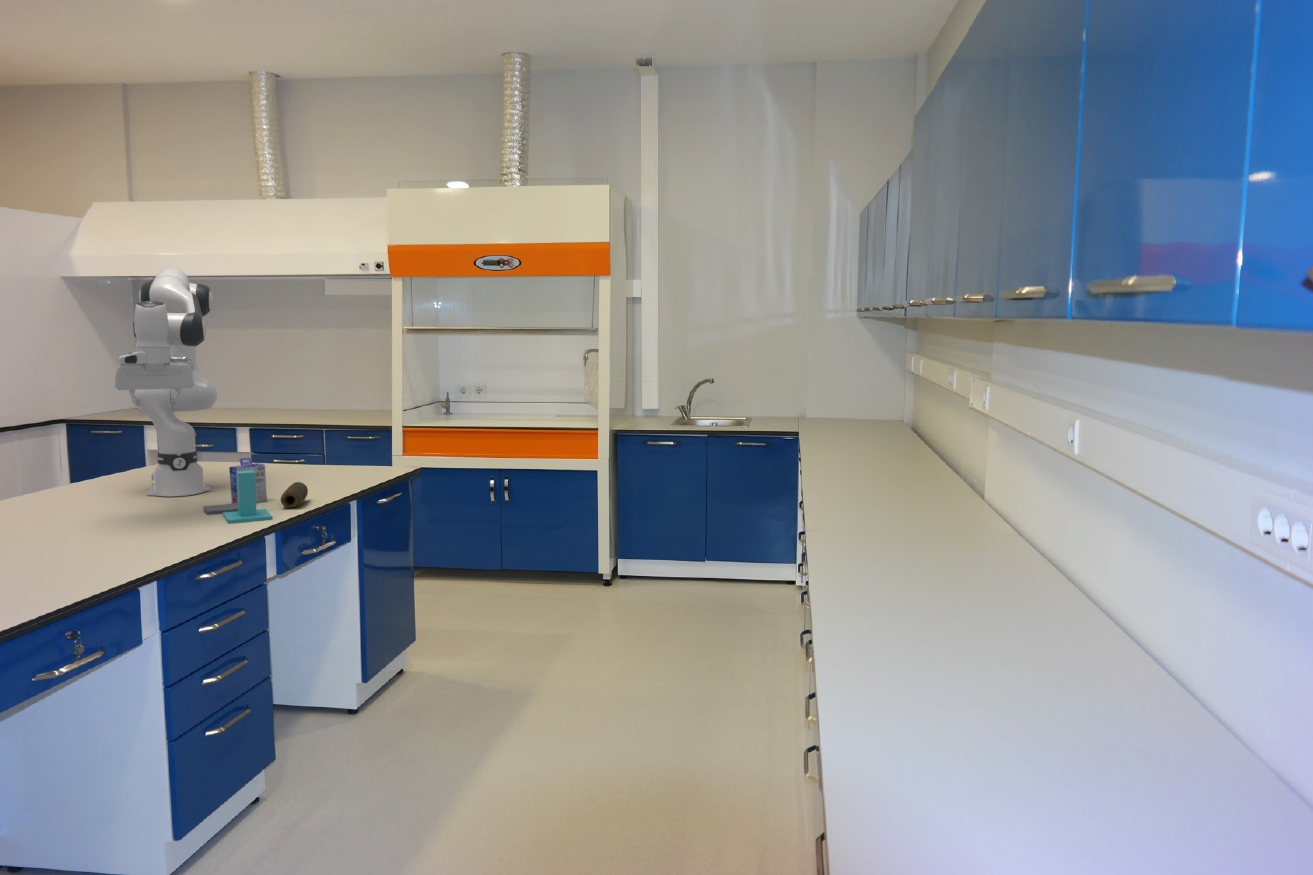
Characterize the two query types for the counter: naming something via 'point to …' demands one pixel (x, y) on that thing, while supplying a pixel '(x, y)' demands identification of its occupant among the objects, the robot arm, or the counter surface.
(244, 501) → the teal column
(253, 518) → the teal pad
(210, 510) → the charcoal pad
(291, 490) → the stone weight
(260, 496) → the ink cartridge box
